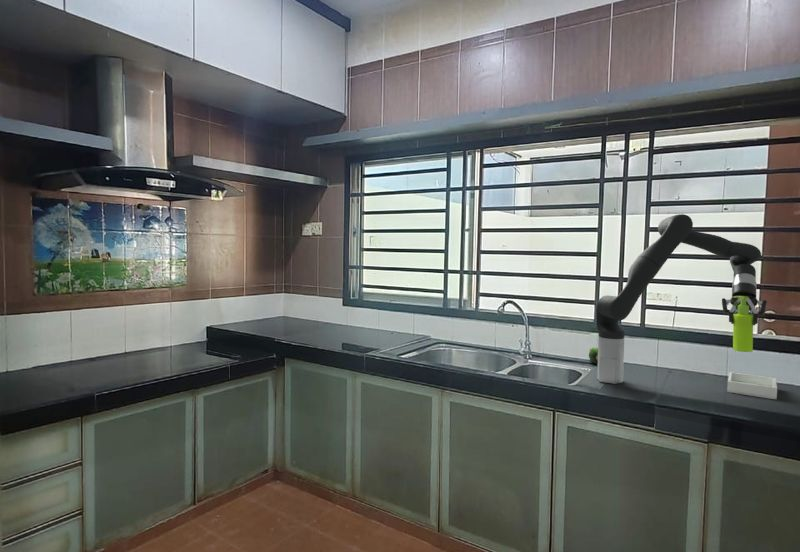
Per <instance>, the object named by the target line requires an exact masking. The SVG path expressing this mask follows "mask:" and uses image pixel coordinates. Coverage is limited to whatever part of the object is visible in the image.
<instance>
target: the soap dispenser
mask: <svg viewBox="0 0 800 552" xmlns="http://www.w3.org/2000/svg"><path fill="white" fill-rule="evenodd" d="M733 298H741V304H739V305H738V311H737V313H735V314H734V315H733V316H734V319H733V324H732V325H733V326H732V327H733V328H732V329H733V331H732V350H733V351H734V352H741V353H752V352H753V350H754V349H753V347H754V345H753V344H754V337H753V336H754V325H753V315H752V314H751V313H750V311H749V306H748V305H746V299H749V297H746V296H733Z"/></svg>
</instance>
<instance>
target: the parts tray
mask: <svg viewBox="0 0 800 552" xmlns="http://www.w3.org/2000/svg"><path fill="white" fill-rule="evenodd" d="M726 391H727V393H732V394H737V395H743V396H744V395H745V396H751V397H757V398H758V397H759V398H762V399H769V400H770V399H771V400H778V399H777V397H778V385H777V379H776V377H769V376H761V375H754V374H747V373H737V372H732V371H729V373H728V377H727V389H726Z"/></svg>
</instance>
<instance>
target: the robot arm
mask: <svg viewBox="0 0 800 552" xmlns="http://www.w3.org/2000/svg"><path fill="white" fill-rule="evenodd" d="M693 223H694V222H693V219H692V218H691V216H689V215H687V214H682V213H681V214H675V215H672V216H669V217H666V218H664V219H662V220H660V222H659V223H658V227H657V230H658V234H659V235H660V237H659V238H658V239H657V240H656V241H654V242H653V243H652V244H651V245H649V246H647V248H646V249H644V250H643V251H642V252H641V253H640V254H639V255H638V256H637V258H636V259H635V260H634V261H633V263H632V264H631V265H630V267H629V269H628V274H627V282H626V285H625V286H624V288H623V289H622V290H621V292H620V293H619V294H617V295H615V296H614V295H603V296H601V297H599V299H598V300H597V302H596V309H595V310H596V311H595V313H596V314H595V319H596V321H595V322H596V328H597V329H596V330H597V332H598V341H597V342H598V344H597V345H598V346H597V348H598V364H597V380H598V382H600V383H607V384H613V385H616V384H623V382H624V358H625V357H624V355H625V330H624V329H623V328H621V326H620V325H619V323H618V322H621V321H624V320H625V319H626V318H627V317H628V316H629V314H630V313H631V312H632V310H633V308H634V307H635V305H636V303H637V302H638V300H639V298H640V297H641V295H642V294H643V293H644V291H645V290H646V289H647V287H648V285H650V283H651V282H652V281H653V279H654V278H655V277H656V275H657V274H658V273H659V271H660V270H661V269H662V268H663V266H664V264H665V263H666V262H667V261H668V260H669V258H670V257H671V255H672V254H673V252H674V251H675V249H676V248H678V247H679V245H680V244H681V243H682V244H684V245H688V246H692V247H695V248H697V249H701V250H703V251H706V252H708V253H711V254H713V255H716V256H719V257H721V258H724V259H729V264H730V265H731V269H732V271H733V279H732V284H731V286H732V287H731V298H730V299H726V298H724V297H723V298H721V306H722V312H723V315H728V322H729V323H730V324H732V325H733V319H734V316H733V315H734V314H737V313H738V305H739V304H741V298H733V296H746V297H749V299H746V305H748V306H749V314H750V315H753V326H756V325H757V324H758V322H759V317H760V318H761V317H762V318H764V317H765V314H766V308H767V306H768V305H767V304H768V303H767V302H768V301H767V299H764V300H758V299H757V277H756V276H757V272H756V268H755V267H754V265H752V264H754V263H756V262H757V261H759V260H760V259H761V257H762V251H761V250H760V248H758V247H757V246H756V245H753V244H749V243H744V242H738V241H731V240H729V239H728V238H724V237H722V236H719V235H716V234H711V233H706V232H701V231H698V230H693ZM728 305H732V306H731V308H730V309H728ZM757 305H758V306H759V307H760V310H759V311H758V310H757V308H756V306H757Z"/></svg>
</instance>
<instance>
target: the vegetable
mask: <svg viewBox="0 0 800 552" xmlns="http://www.w3.org/2000/svg"><path fill="white" fill-rule="evenodd" d="M588 357H589V360H590V362H592V363H593V364H595V365H598V347H594V346H593V347H591V348H590V349H589V353H588Z"/></svg>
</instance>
